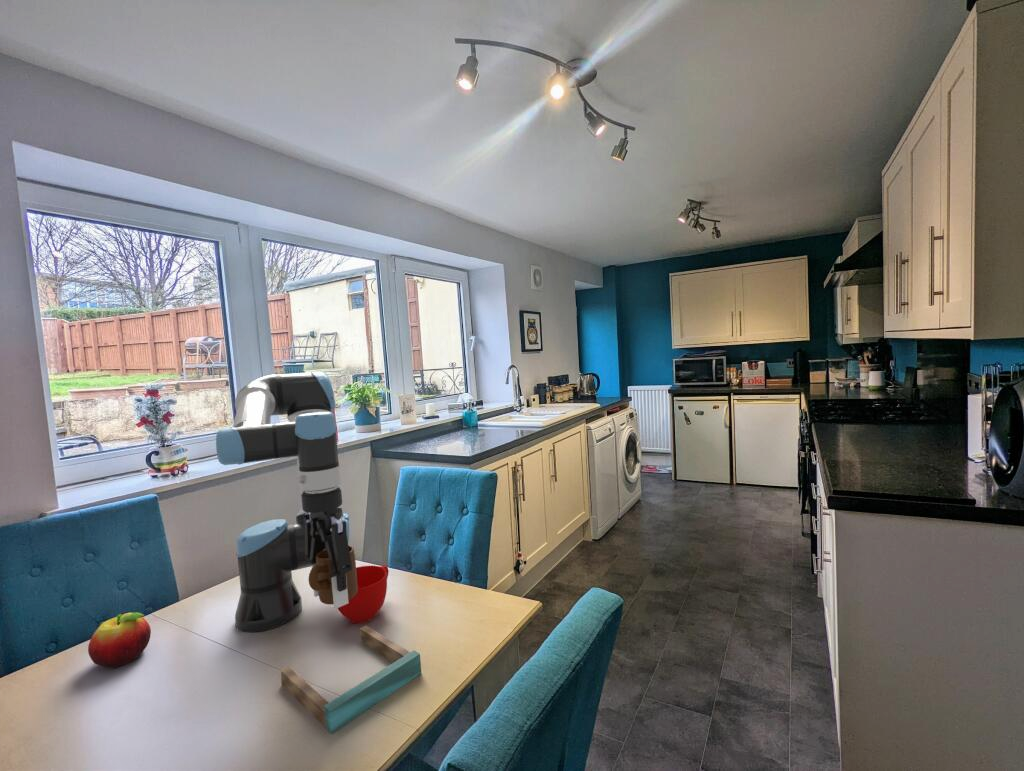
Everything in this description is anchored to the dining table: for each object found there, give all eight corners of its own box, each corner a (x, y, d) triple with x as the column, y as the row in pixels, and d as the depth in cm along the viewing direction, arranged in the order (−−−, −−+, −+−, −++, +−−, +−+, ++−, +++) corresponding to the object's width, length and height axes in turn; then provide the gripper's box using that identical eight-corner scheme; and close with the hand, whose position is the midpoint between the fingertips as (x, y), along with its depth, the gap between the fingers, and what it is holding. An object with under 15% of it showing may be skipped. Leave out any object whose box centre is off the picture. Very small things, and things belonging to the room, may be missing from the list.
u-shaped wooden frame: (281, 684, 93) (280, 665, 93) (366, 638, 107) (365, 621, 107) (331, 733, 80) (329, 711, 79) (421, 672, 94) (419, 653, 94)
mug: (331, 618, 88) (327, 569, 88) (296, 616, 90) (292, 568, 89) (365, 588, 100) (361, 545, 99) (333, 587, 101) (329, 544, 101)
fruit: (114, 647, 110) (110, 606, 109) (164, 642, 111) (159, 601, 110) (76, 678, 99) (71, 632, 98) (131, 672, 100) (126, 627, 99)
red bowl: (409, 598, 124) (406, 562, 123) (366, 635, 108) (363, 593, 108) (369, 592, 129) (366, 556, 128) (323, 626, 113) (320, 586, 113)
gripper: (281, 487, 99) (290, 593, 100) (327, 500, 85) (338, 623, 86) (316, 479, 104) (325, 579, 105) (364, 490, 90) (374, 606, 91)
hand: (330, 599), depth 95 cm, fingers closed on mug, 8 cm apart
